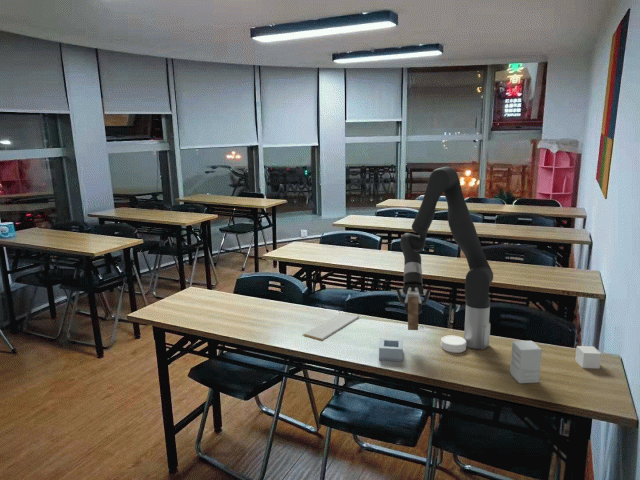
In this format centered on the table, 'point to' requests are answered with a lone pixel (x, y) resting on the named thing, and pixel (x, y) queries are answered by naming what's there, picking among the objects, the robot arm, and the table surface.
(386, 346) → the grey square collar
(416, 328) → the rail post
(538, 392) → the table surface
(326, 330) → the baseboard
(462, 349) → the white round disc
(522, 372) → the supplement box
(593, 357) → the white cube
